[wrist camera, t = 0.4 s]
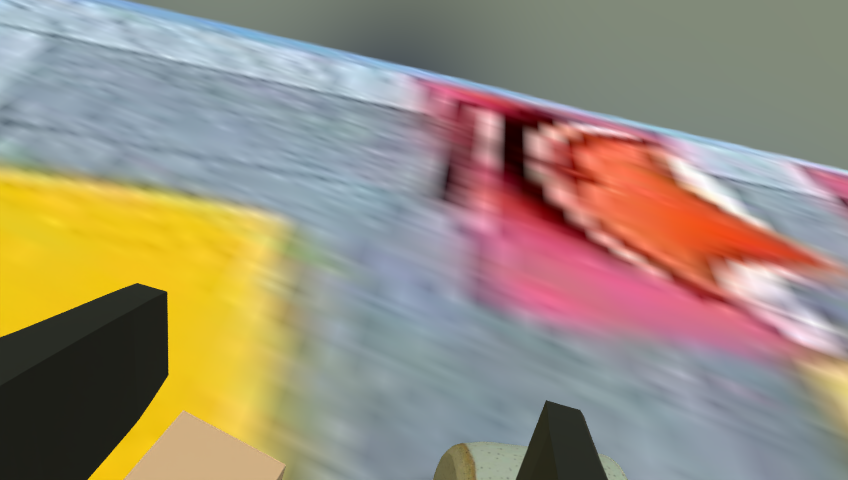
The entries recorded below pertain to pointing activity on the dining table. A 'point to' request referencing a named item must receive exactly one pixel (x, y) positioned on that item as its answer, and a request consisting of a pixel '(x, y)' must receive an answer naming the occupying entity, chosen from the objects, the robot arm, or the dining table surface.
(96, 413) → the robot arm
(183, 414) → the terracotta block
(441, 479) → the ceramic mug
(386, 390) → the dining table surface
